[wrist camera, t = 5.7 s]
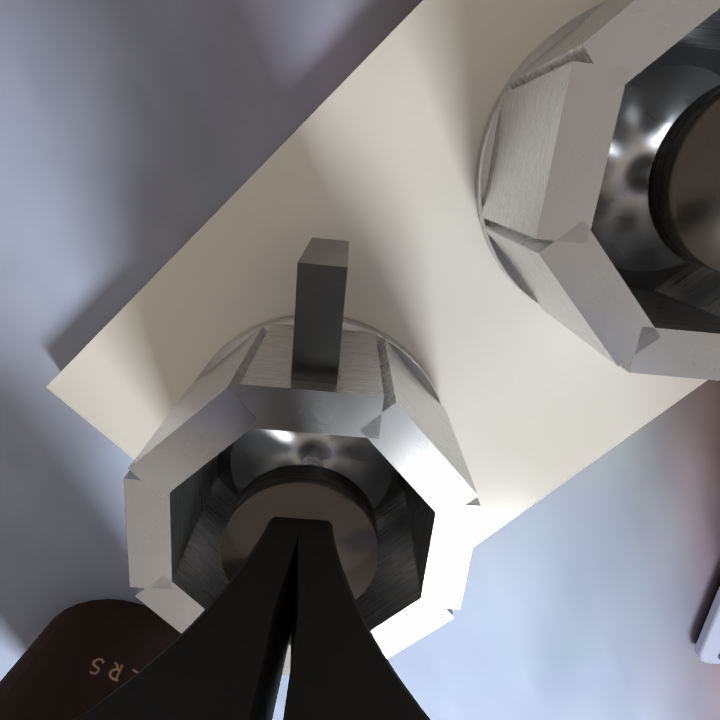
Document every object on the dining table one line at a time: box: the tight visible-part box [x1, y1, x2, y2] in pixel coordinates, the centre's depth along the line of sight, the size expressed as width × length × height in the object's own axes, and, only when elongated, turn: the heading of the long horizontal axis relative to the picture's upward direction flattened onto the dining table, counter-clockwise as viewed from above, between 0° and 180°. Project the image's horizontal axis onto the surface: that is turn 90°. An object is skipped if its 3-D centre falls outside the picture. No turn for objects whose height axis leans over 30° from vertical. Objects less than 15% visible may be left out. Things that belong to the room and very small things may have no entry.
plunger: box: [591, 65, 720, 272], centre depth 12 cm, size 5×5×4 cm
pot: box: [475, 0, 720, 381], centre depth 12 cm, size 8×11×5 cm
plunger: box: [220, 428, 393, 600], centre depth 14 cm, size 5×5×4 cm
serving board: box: [46, 0, 707, 547], centre depth 17 cm, size 22×14×1 cm, turn 132°
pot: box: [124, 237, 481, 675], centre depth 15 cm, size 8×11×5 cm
